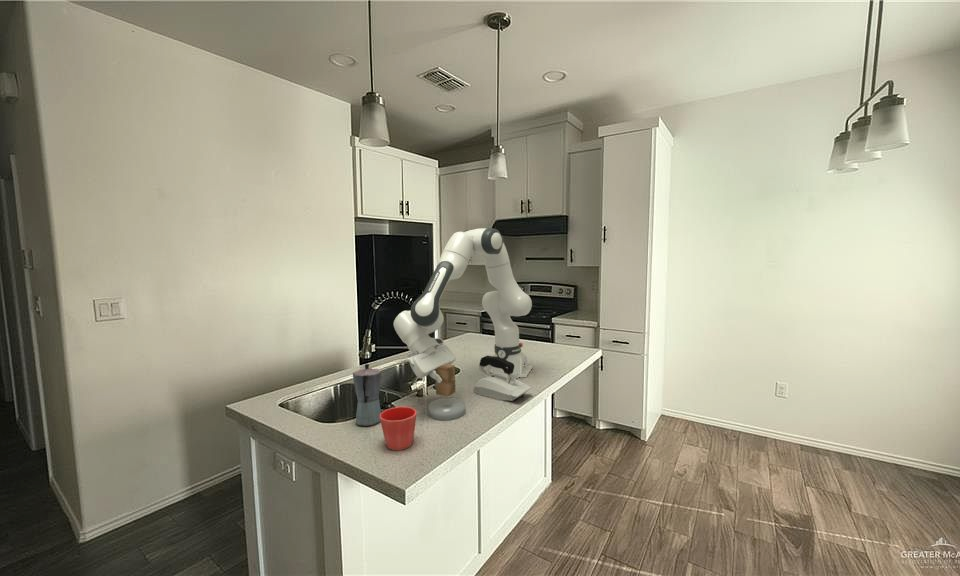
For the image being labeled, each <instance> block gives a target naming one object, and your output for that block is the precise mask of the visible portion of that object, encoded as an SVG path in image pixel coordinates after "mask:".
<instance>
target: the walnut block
mask: <svg viewBox="0 0 960 576" xmlns="http://www.w3.org/2000/svg"><path fill="white" fill-rule="evenodd" d="M455 367H456V365H455V364H444V365H441V366H439V367H437V369H435V371H436V374H438V375H439V376H442V378H443V379H444V380H443V381H442V382H441V383H438V382H437V380H435V395H437V396H442V397H445V398H449V397H450V396H452V395H453V394H455V393H456V368H455Z"/></svg>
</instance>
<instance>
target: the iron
mask: <svg viewBox="0 0 960 576" xmlns="http://www.w3.org/2000/svg"><path fill="white" fill-rule="evenodd" d="M478 365H479V367H478V369H479V372H480V373H481V375H483V376H484V377H483V378H481V379H478V380H476V382H474V386H473V388H474V389H473V391H474V393H475V392H476V393H475V394H477V393H478V395H480V396H482V395H484V397H487V396H489V397H488V398H491V397H492V398H491V399H495V398H496V399H495V400H499V401H500V400H501V401H508V402H509V401H511V402H512V401H514V400H516V399H517V398H519V397H521V396H523V395H524V394H526V393H527V392H528V391H530V390H531V389H532V388H533V387H532V386H529V385H528V384H526V383H525V382H522V381H520V380H519V379H518V378H517V376H518V375H521V374H518V373H515V374H516V375H515V374H514V375H513V374H512V373H513V370H514V364H513V363H511V362H509V361H507V360H505V359H503V358H500V357H495V356H493V355H485V356H483V357H481V358H480V362H479V364H478ZM487 366H491V368H492V367H495V368H501V369H503V371H504V373H506V374H508V376H507V375H504V374H501V373H494V374H492V373H491V374H489V373H488V372H487V371H486V370H485V368H486V367H487ZM512 375H513V376H512ZM514 376H515V377H514Z"/></svg>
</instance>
